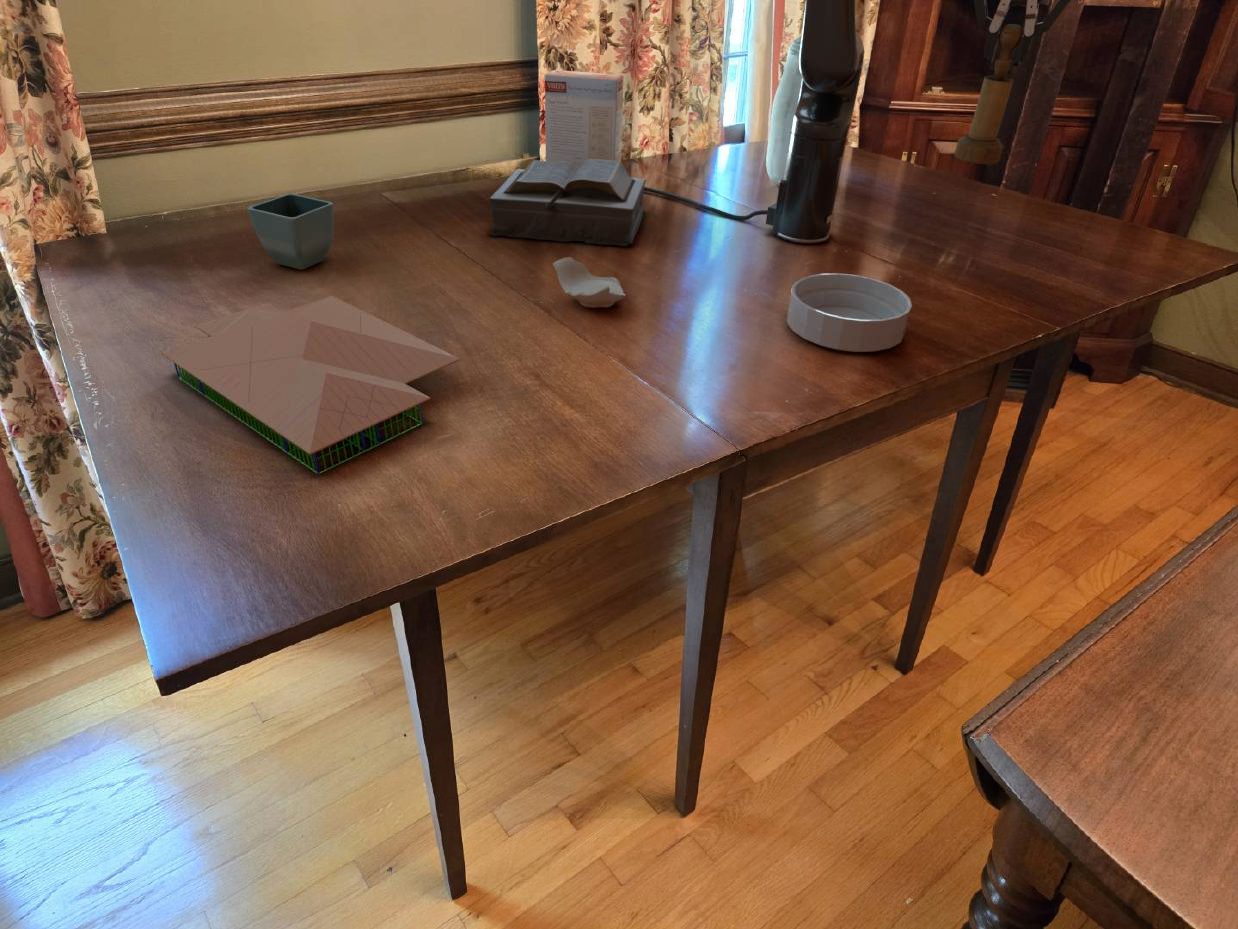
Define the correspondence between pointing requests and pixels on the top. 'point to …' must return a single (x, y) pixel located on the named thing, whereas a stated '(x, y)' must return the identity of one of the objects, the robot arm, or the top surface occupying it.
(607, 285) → the pottery shard
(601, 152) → the cracker box
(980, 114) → the mortar and pestle
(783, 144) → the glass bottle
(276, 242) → the flower pot
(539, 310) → the top surface
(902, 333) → the pan
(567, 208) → the bible
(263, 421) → the house
